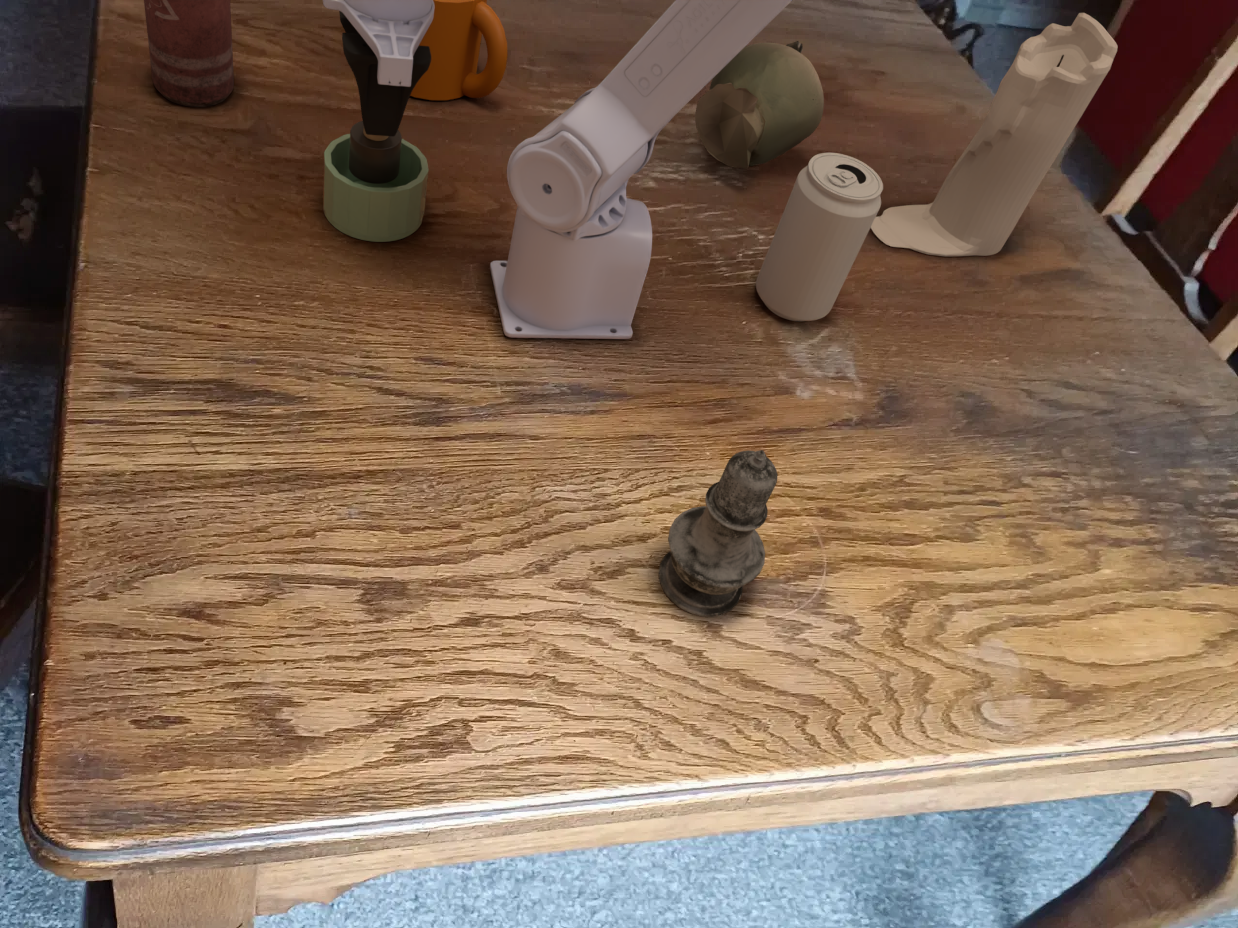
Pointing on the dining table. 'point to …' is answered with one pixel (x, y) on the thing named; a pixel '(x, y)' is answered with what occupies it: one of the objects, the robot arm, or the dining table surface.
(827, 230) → the beverage can
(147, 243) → the dining table surface
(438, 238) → the dining table surface
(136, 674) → the dining table surface
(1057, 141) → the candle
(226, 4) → the can
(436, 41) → the mug
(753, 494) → the chess piece
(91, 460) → the dining table surface
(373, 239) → the pot
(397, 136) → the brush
